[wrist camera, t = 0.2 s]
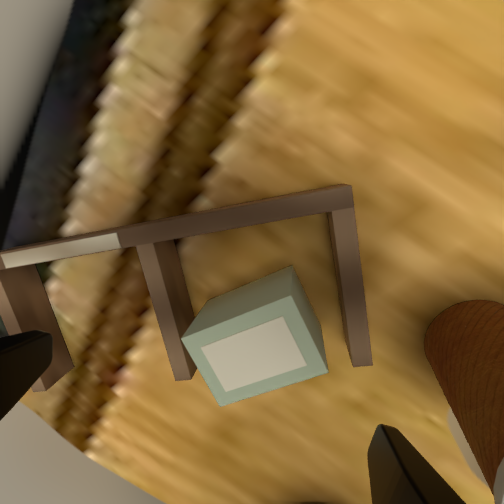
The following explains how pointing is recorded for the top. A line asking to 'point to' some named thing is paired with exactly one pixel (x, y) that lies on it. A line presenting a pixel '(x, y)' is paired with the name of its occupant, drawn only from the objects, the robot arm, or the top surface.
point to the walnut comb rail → (171, 277)
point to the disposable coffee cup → (473, 379)
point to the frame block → (257, 338)
